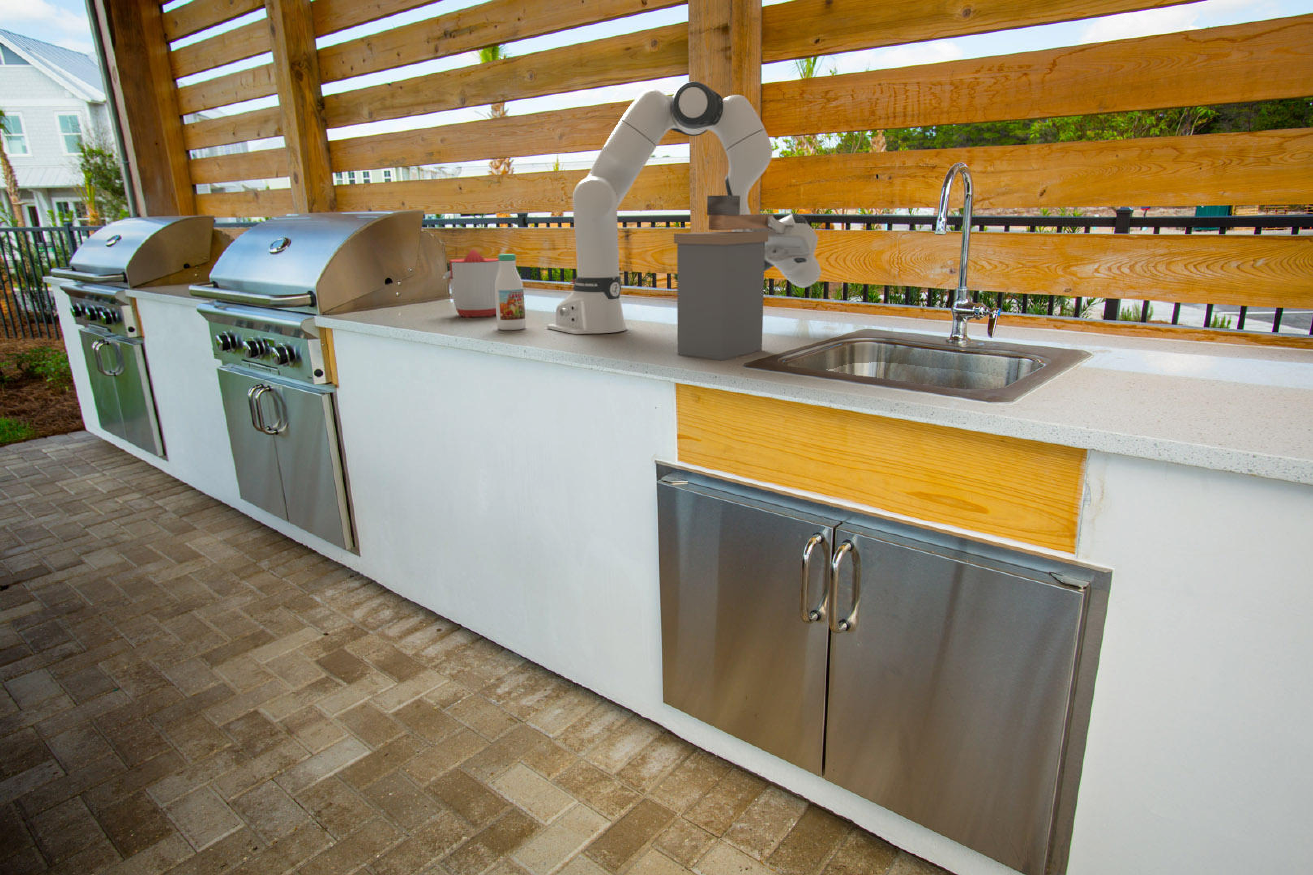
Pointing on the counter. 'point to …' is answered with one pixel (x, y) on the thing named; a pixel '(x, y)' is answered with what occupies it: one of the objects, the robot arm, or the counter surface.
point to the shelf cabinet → (720, 293)
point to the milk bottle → (509, 295)
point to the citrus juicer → (473, 284)
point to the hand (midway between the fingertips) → (758, 219)
